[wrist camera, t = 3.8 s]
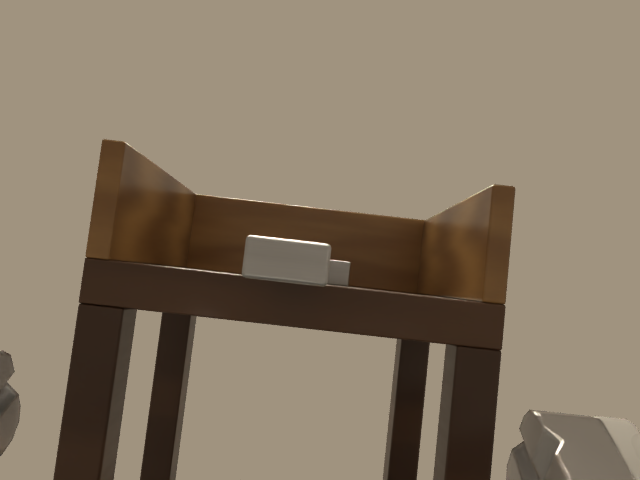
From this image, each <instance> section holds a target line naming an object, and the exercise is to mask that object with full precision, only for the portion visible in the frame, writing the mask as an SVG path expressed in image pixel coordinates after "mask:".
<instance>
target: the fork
mask: <svg viewBox="0 0 640 480" xmlns="http://www.w3.org/2000/svg"><path fill="white" fill-rule="evenodd" d="M330 257H331V246H330V245H329V244H325V243H316V242H307V241H298V240H290V239H281V238H272V237H263V236H254V235H250V236H247V238H246V242H245V250H244V258H243V266H242V276H243V277H245V278H250V279H259V280H268V281H277V282H286V283H295V284H303V285H312V286H321V287H323V286H326V285H327V284H329V285H338V286H348V284H349V274H350V265H351V263H350V262H346V261H337V260H330Z"/></svg>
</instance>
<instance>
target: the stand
mask: <svg viewBox="0 0 640 480" xmlns="http://www.w3.org/2000/svg"><path fill="white" fill-rule="evenodd" d="M514 197H515V187H513V186H505V185H496V184H494V185H492V186H490V187H488V188H486V189H484V190H482V191H480V192H478V193H476V194H474V195H472V196H471V197H469V198H467V199H465V200H463V201H462V202H459V203H457V204H455V205H453V206H452V207H450V208H448V209H446V210H444V211H442V212H440V213H439V214H437V215H434V216H433V217H431V218H429V219H427V220H418V219H409V218H400V217H390V216H382V215H374V214H365V213H356V212H347V211H339V210H330V209H321V208H312V207H304V206H295V205H286V204H277V203H268V202H260V201H251V200H242V199H233V198H225V197H216V196H207V195H199V194H195V193H193V192H192V191H191V190H189V189H188V188H187V187H185V186H184V185H183V184H181V183H180V182H178V181H177V180H176V179H174V178H173V177H172V176H170V175H169V174H168V173H166V172H165V171H164V170H162V169H161V168H160V167H158V166H157V165H156V164H154V163H153V162H151V161H150V160H149V159H147V158H146V157H145V156H143V155H142V154H141V153H139V152H138V151H137V150H135V149H134V148H133V147H131V146H130V145H128V144H127V143H126V142H123V141H115V140H106V139H104V140H102V146H101V153H100V160H99V167H98V173H97V180H96V188H95V194H94V201H93V208H92V215H91V222H90V229H89V235H88V242H87V250H86V257H87V258H85V263H84V270H83V277H82V283H81V290H80V297H79V303H81V304H79V307H78V314H77V321H76V328H75V335H74V341H73V342H74V343H73V348H72V355H71V363H70V369H69V376H68V383H67V390H66V397H65V404H64V411H63V417H62V424H61V432H60V438H59V445H58V452H57V458H56V466H55V473H54V480H113V479H114V472H115V464H116V458H117V449H118V443H119V436H120V428H121V421H122V414H123V406H124V399H125V392H126V385H127V377H128V369H129V362H130V355H131V348H132V340H133V334H134V326H135V319H136V312H137V309H138V310H146V311H155V312H162V319H161V327H160V335H159V342H158V349H157V357H156V364H155V372H154V379H153V387H152V394H151V402H150V409H149V416H148V424H147V432H146V439H145V446H144V454H143V462H142V469H141V477H140V480H175V478H176V470H177V463H178V455H179V447H180V439H181V431H182V424H183V416H184V408H185V401H186V393H187V385H188V377H189V370H190V362H191V354H192V346H193V339H194V331H195V323H196V316H200V317H209V318H218V319H227V320H235V321H245V322H253V323H262V324H271V325H280V326H289V327H298V328H306V329H316V330H324V331H333V332H342V333H351V334H360V335H369V336H378V337H387V338H396V339H397V344H396V355H395V364H394V374H393V384H392V394H391V404H390V414H389V423H388V433H387V443H386V453H385V463H384V473H383V480H417V469H418V459H419V448H420V438H421V428H422V417H423V407H424V397H425V385H426V376H427V365H428V355H429V345H430V342H431V343H440V344H446V350H445V361H444V372H443V382H442V392H441V404H440V414H439V424H438V435H437V445H436V457H435V467H434V478H433V480H490V475H491V465H492V453H493V442H494V430H495V417H496V406H497V396H498V394H497V393H498V384H499V372H500V361H501V351H500V350H501V349H502V340H503V328H504V316H505V305H503V304H505V302H506V290H507V278H508V267H509V256H510V244H511V233H512V221H513V209H514ZM250 235H254V236H263V237H272V238H281V239H290V240H298V241H307V242H316V243H325V244H329V245H330V246H331V257H330V260H337V261H346V262H350V263H351V265H350V274H349V284H348V286H338V285H329V284H327V285H326V286H323V287H321V286H312V285H303V284H295V283H286V282H277V281H268V280H259V279H250V278H245V277H243V276H242V266H243V258H244V250H245V242H246V238H247V236H250Z"/></svg>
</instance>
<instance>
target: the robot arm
mask: <svg viewBox="0 0 640 480" xmlns="http://www.w3.org/2000/svg"><path fill="white" fill-rule="evenodd" d="M13 373H14V367H13V363H12V358H11V355H10V354H8V353H6V352H4V351H2V350H0V456H1V455H2V454H3V452H4V451H5V449H6V448H7V446H8V445H9V444H10V442H11V441H12V439H13V436H14V434H15V431H16V428H17V426H18V423H19V417H20V401H19V395H18V393H17V392H16V391H15V390H14V389H13V388H12V387H11V386H10V385H9V384H8V383H7V381H8V380H9V378H10V377H11V376H12V374H13ZM519 429H520V432H521V434H522V437H523V440H524V441H523V442H522V443H520V444H519V445H517V446H516V447H515V448H513V449H512V451H511V454H510V457H509V461H508V464H507V476H506V480H640V432H639V430H638V429H637V428H636V426H635V425H634V424H633V423H632V422H630V421H629V420H627V419H622V418H611V417H600V416H593V417H591V416H584V415H574V414H564V413H555V412H546V411H536V410H529V411H528V412H527V413H526V414H525V416H524V417H523V420H522V422H521V425H520V428H519Z"/></svg>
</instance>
